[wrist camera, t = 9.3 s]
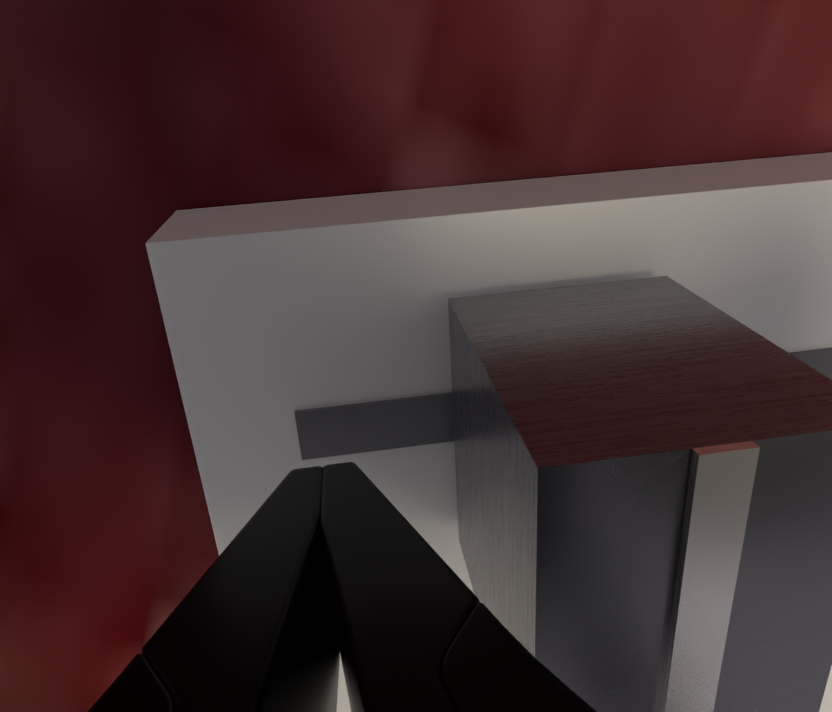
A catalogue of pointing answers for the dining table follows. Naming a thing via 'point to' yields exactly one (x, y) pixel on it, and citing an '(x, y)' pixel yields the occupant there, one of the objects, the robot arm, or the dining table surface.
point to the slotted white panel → (428, 310)
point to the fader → (646, 495)
